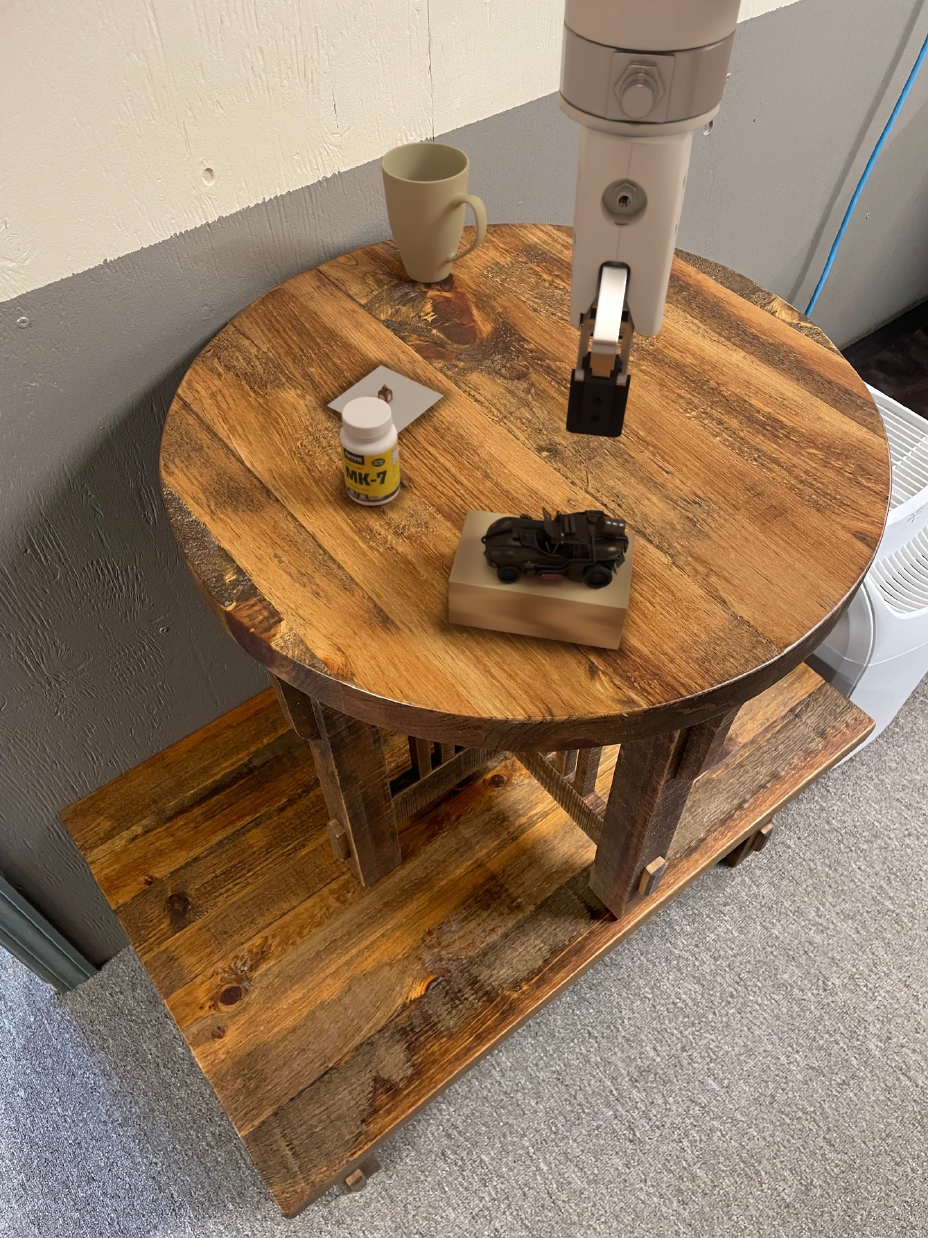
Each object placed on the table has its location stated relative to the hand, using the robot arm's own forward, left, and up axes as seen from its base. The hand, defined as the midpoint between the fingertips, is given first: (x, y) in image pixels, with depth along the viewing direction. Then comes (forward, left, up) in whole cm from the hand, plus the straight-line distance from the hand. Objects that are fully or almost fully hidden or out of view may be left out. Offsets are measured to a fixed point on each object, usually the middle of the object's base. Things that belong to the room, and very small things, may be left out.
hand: (600, 381), depth 53 cm
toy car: (+2, +2, -15) cm, 15 cm away
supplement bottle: (+18, -8, -20) cm, 28 cm away
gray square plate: (+20, -20, -20) cm, 35 cm away
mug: (+20, -43, -20) cm, 52 cm away
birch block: (+2, +1, -20) cm, 20 cm away
